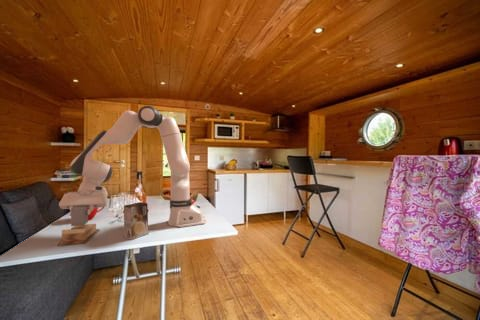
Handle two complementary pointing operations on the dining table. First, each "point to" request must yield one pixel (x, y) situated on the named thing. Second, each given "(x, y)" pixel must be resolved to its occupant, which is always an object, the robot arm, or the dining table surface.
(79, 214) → the grey block
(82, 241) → the display stand
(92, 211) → the red cup
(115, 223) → the dining table surface
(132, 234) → the coffee box
